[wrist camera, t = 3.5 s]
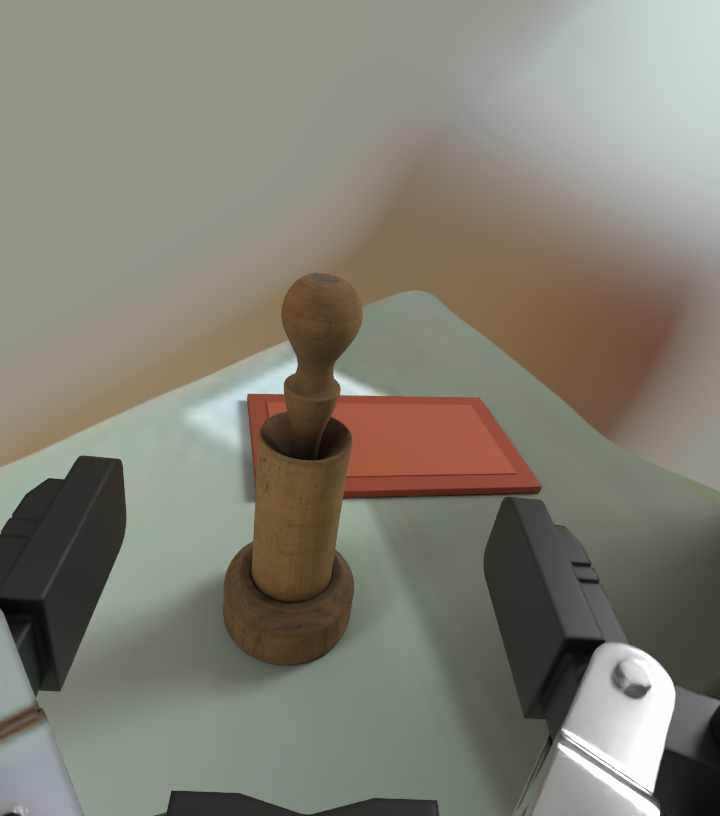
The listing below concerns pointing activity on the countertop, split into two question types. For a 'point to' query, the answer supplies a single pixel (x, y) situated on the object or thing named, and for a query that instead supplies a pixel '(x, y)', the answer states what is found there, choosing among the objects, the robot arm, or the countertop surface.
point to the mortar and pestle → (299, 493)
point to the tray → (416, 446)
